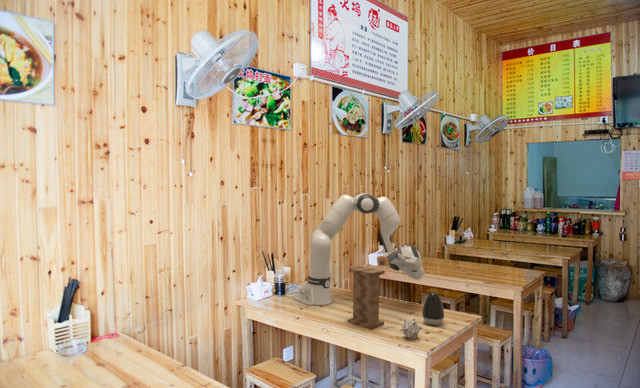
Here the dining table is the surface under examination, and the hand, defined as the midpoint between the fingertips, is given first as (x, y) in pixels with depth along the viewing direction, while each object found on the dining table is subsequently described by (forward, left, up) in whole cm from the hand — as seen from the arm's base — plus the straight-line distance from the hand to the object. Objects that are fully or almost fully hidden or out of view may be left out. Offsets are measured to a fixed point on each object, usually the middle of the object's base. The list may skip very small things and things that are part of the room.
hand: (394, 254), depth 223 cm
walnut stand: (0, -24, -30) cm, 39 cm away
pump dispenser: (+23, -1, -31) cm, 38 cm away
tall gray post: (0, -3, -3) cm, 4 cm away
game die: (+25, -25, -31) cm, 47 cm away
